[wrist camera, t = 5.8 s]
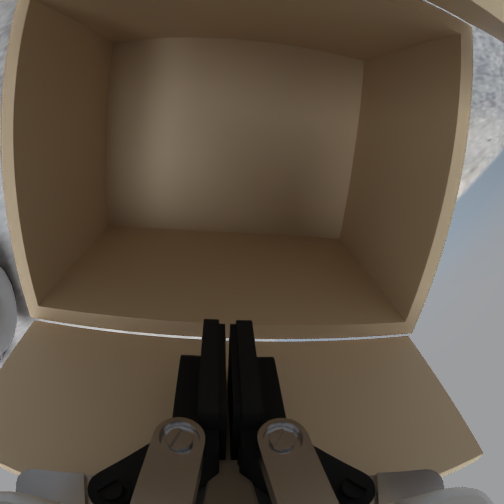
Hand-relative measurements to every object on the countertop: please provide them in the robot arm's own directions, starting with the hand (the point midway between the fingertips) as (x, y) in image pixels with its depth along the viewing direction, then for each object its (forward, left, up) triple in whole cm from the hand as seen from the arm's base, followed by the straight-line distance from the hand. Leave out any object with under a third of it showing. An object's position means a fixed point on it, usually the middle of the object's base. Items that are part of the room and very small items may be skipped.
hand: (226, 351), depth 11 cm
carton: (-7, 0, -14) cm, 16 cm away
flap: (+1, 0, +2) cm, 2 cm away
